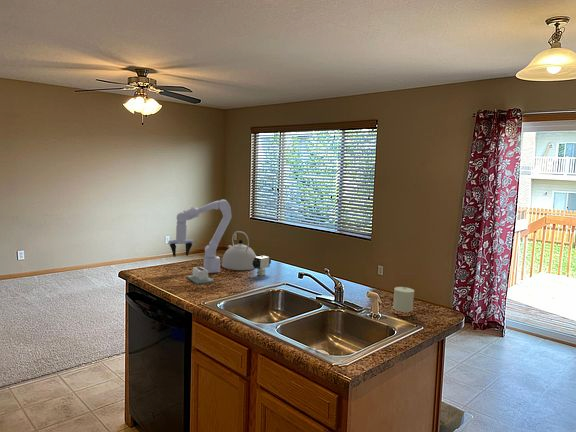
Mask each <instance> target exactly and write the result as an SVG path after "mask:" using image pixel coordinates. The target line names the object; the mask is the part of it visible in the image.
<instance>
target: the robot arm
mask: <svg viewBox="0 0 576 432" xmlns="http://www.w3.org/2000/svg"><path fill="white" fill-rule="evenodd" d="M211 210H216V211H217V210H219V211H220V212H221V214H222V218H221V220H220V222H219V223H218V226H217V228H216V230H215V232H214V234H213V235H212V238H211V239H210V241H209V243H208V244H207V245H205V246H204V256H203V268H205V269H206V270H208V274H212V273H214V274H215V273H220V272H221V259H220V258H221V257H220V256H217V255H216V254H217V249H218V246H219V244H220V242H221V239H222V238H223V236H224V234H225V232H226V229H227V228H228V226H229V224H230V221H231V219H232V217H233V216H232V207H231V204H230V203H229V202H228V200H227V199H223V198H222V199H220V200H215V201H212V202H210V203H207V204H206V205H203V206H200V207H197V206H196V207H193V206H192V207H190V208H189V209H187V210H182V211H183V212H181V211H180V212H179V213H177V214H176V229H175V230H176V231H175V232H176V233H175V235H176V236H175V239H174V240H168V243H167V244H168V245H169V247H170V250H171V252H172V256H173V257H176V256H177V255H176V254H177V252H176V250H177V245H182V244H184V245H185V256H189V254H190V250H191V248H192V246H193V244H194V239H187V226H188V225H187V221H190V220H193V219H195V218H198V217H199V216H200V214H203V213H206V212H208V211H211Z"/></svg>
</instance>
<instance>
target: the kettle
mask: <svg viewBox="0 0 576 432" xmlns="http://www.w3.org/2000/svg"><path fill="white" fill-rule="evenodd" d="M236 233H241V234H244V236H245V237H246V240H247V245H246V244H243V240H242V239H239V240H238V244H235V242H234V237H235V234H236ZM231 241H232V245H231V244H229V245H227V248H228V249H227V250H226V251H225V252H224V254H223V256H222V258H221V260H222V261H221V267H223V268H225V269H227V270H234V271H248V270H249V271H250V270H254V269H256V268H254V266H253V264H252V263H253V260H254V257H257V255H256V253H255V251H254V250H253V249H252V248H251V247H249V246H250V239H249V237H248V235H247V233H246V232H244V231H240V230H237V231H234V232H233V234H232V238H231Z"/></svg>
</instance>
